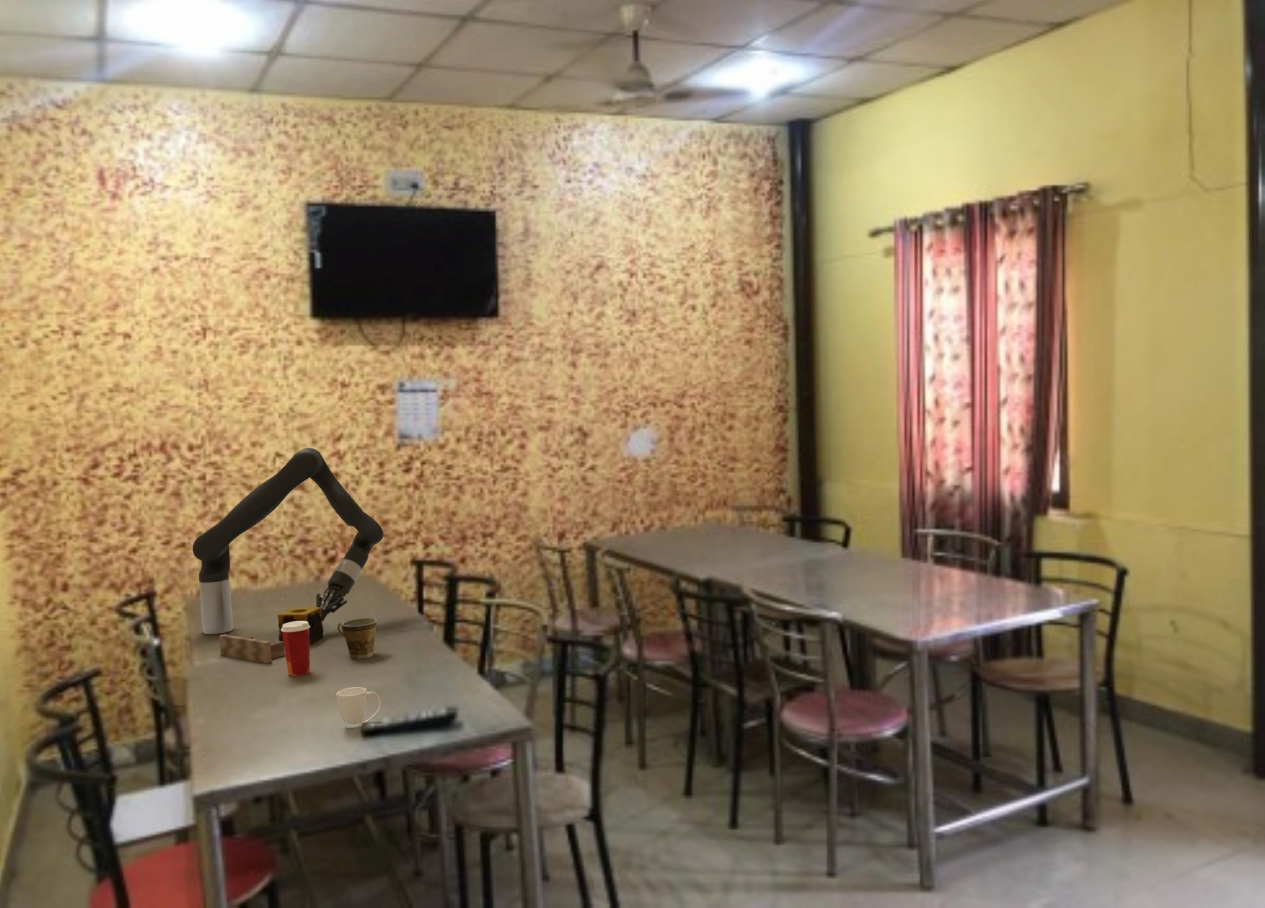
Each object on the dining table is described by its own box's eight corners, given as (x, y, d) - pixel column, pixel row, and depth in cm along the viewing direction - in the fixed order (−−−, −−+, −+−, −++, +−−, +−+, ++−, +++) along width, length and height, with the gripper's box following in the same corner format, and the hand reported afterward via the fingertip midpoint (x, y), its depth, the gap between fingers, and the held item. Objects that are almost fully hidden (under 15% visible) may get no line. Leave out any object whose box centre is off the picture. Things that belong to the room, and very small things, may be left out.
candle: (308, 646, 317) (306, 614, 316) (278, 646, 319) (275, 614, 318) (324, 637, 327) (322, 606, 326) (295, 638, 329) (293, 607, 328)
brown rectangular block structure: (220, 655, 311) (219, 635, 311) (245, 648, 318) (243, 629, 318) (267, 663, 299) (265, 642, 299) (291, 655, 306) (289, 635, 306)
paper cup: (319, 670, 289) (315, 620, 288) (302, 678, 282) (298, 627, 281) (295, 668, 291) (291, 619, 290) (278, 676, 284) (274, 626, 283)
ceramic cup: (386, 652, 304) (383, 618, 303) (364, 661, 295) (361, 627, 294) (351, 649, 310) (348, 616, 309) (328, 658, 301) (325, 624, 300)
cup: (335, 724, 241) (332, 690, 241) (378, 715, 246) (375, 682, 245) (342, 732, 235) (339, 698, 234) (385, 723, 240) (383, 689, 239)
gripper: (324, 568, 338) (296, 613, 329) (351, 571, 331) (324, 617, 322) (338, 581, 343) (311, 626, 334) (365, 584, 336) (338, 630, 326)
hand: (317, 621), depth 328 cm, fingers closed
